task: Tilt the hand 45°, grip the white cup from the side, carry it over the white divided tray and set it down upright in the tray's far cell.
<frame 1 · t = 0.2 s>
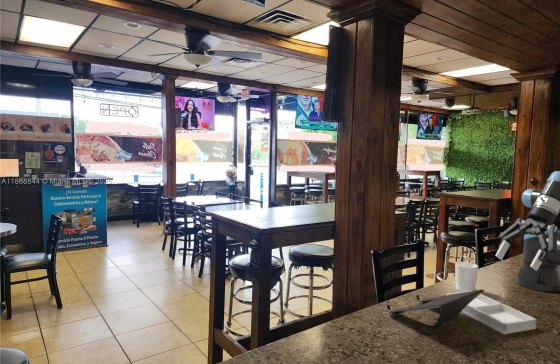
hand: (514, 262, 126), 15 cm above the countertop, tool tilted 35°, fingers open, 13 cm apart
white divided tray: (486, 314, 120), on the countertop
portable electronic device stand: (429, 319, 118), on the countertop
white cup: (465, 290, 143), on the countertop
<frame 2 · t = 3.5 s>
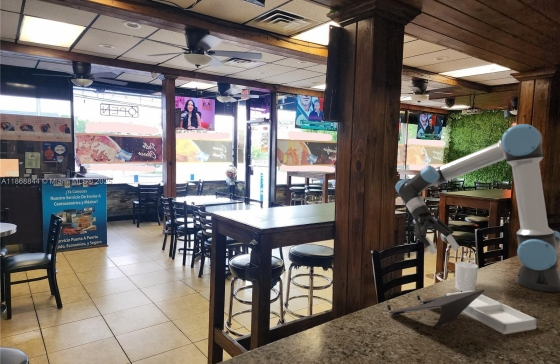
hand: (446, 251, 150), 13 cm above the countertop, tool tilted 45°, fingers open, 13 cm apart
nothing on the countertop moved.
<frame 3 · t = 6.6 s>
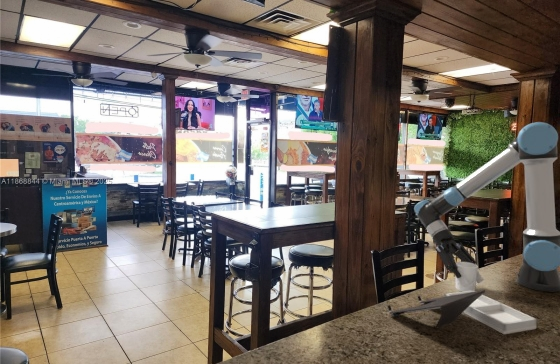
hand: (473, 283, 139), 4 cm above the countertop, tool tilted 45°, fingers closed on white cup, 8 cm apart
white cup: (465, 290, 143), on the countertop, touching gripper
everything else where it was.
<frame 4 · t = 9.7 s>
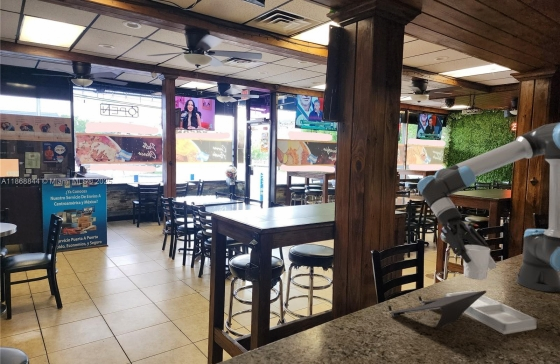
hand: (485, 269, 120), 15 cm above the countertop, tool tilted 45°, fingers closed on white cup, 8 cm apart
white cup: (475, 277, 123), point 11 cm above the countertop, touching gripper
everything else where it was.
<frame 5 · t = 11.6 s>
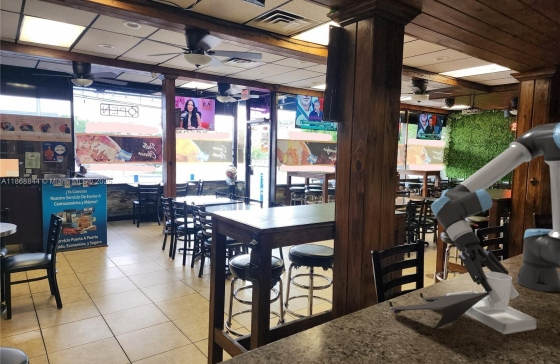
hand: (507, 299, 113), 8 cm above the countertop, tool tilted 45°, fingers closed on white cup, 8 cm apart
portable electronic device stand: (431, 318, 117), on the countertop, touching gripper
white cup: (495, 306, 116), point 4 cm above the countertop, touching gripper
when the fingers open (6 cm above the countertop, at t = 12.7 s): white cup drops 1 cm, resting on white divided tray.
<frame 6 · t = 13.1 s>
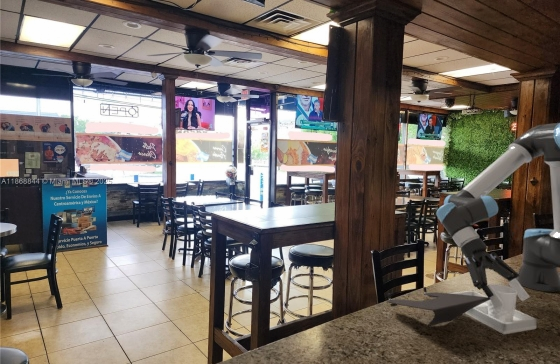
hand: (513, 302, 112), 7 cm above the countertop, tool tilted 45°, fingers open, 12 cm apart
portable electronic device stand: (428, 315, 118), point 1 cm above the countertop, touching gripper
white cup: (500, 320, 114), point 1 cm above the countertop, touching white divided tray
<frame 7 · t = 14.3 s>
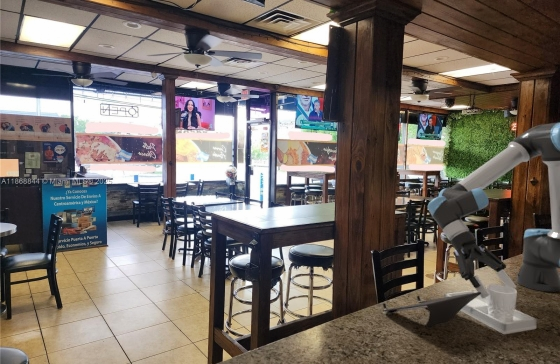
hand: (500, 293, 115), 9 cm above the countertop, tool tilted 45°, fingers open, 13 cm apart
portable electronic device stand: (424, 319, 117), on the countertop
everything else where it was.
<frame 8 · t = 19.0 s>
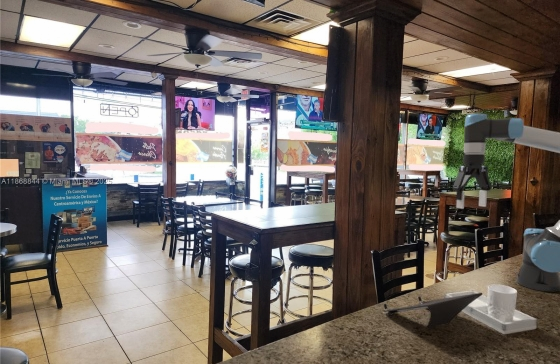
hand: (471, 207, 146), 32 cm above the countertop, tool pointing down, fingers open, 13 cm apart
nothing on the countertop moved.
at the end: white cup inside the target area on the white divided tray (1.0 cm from its centre), point 0.8 cm above the white divided tray's base; white cup tilted 0°; the gripper is holding nothing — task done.
